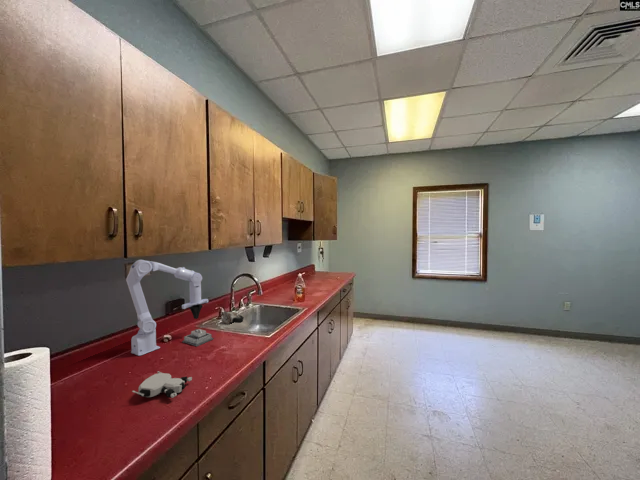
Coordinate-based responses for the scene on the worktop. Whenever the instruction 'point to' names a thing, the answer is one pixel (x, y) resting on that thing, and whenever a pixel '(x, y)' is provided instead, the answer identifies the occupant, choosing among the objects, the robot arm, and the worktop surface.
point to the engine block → (198, 334)
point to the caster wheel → (231, 317)
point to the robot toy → (162, 385)
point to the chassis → (197, 340)
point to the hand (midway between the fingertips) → (196, 318)
